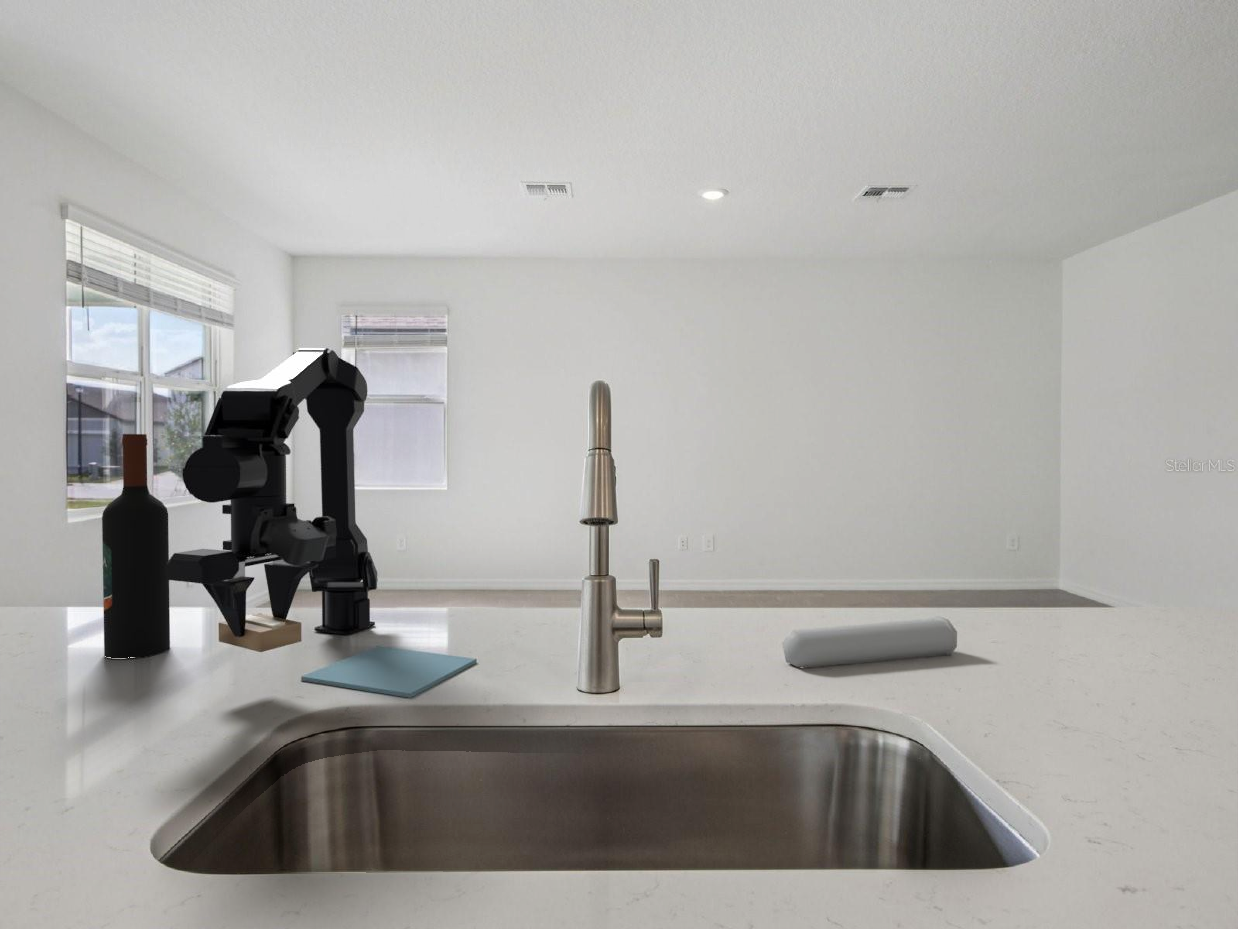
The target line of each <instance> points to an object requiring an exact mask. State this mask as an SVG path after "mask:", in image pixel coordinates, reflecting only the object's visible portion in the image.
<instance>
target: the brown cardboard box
mask: <svg viewBox="0 0 1238 929" xmlns="http://www.w3.org/2000/svg"><path fill="white" fill-rule="evenodd" d="M218 642H219V643H223V644H227V645H230V646H231V645H232V646H235V647H238V648H242V649H243V648H244V649H246V650H250V651H253V652H254V651H255V652H258V653H264V652H266V651H270V650H275V649H277V648H282V647H285V646H288V645H293V644H298V643H300V642H301V643H302V622H301V621H295V620H293V619H292V620H291V619H287V618H286V619H282V618H278V617H273V615H267V614H263V613H257V614H256V613H255V614H246V625H245V633H244V636H243V637H236V636H234V634H233V633H232V631H231V629H230V627H229V625H228V624H227V622H226V620H224V621H220V622H218Z"/></svg>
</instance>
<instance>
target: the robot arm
mask: <svg viewBox="0 0 1238 929" xmlns="http://www.w3.org/2000/svg"><path fill="white" fill-rule="evenodd" d="M367 398H368V384H367V380H366V378H365V377H364V375H363V374H362V372H361V370H360V369H359V367H357V366H356V365H354V364H352V363H350V362H348V361H346V360H344V359H343V358H340V357H339V356H338V354H337V353H336V351H334V349H329V348H328V347H299V348H298V349H295V350H293V352H292V355H291V356H290V357H289V358H288V359H286V360H285V361H284V362H282V363H281V364H280V365H279V366H277V367H276V368H275V369H273V370H272V371H271V372H269V373H268V374H266V375H265V376H264V377H262V378H260V379H255V380H245V381H241V382H238V383H235V384H231V385H229V386H227V387H225V389H224V390H223V391H222V392H221V395H220V397H219V398H218V400H217V403H216V405H215V407H214V410H213V412H212V414H211V417H210V420H209V421H208V424H207V427H206V430H205V431H204V434H203V436H202V447H200V448H198V449H196V450H195V451H193V453H192V454H190V455H189V456H188V458H187V459H186V461H185V465H184V466H183V468H182V480H183V484H184V486H185V488H186V489H187V491H188V492H189V493H190V495H192V496H193V497H194V498H195V499H197V500H199V501H201V502H206V503H209V504H210V503H220V502H226V501H230V503H228V504H222V509H221V511H222V512H221V513H222V514H223V515H230V539H227V540H222V550H221V549H209V548H200V549H192V550H186V551H180V552H174V553H173V554H172V555H171V556H170V557H169V561H168V563H167V580H169V581H175V582H183V583H184V582H185V583H193V584H194V583H195V584H202V586H203V587H204V588H205V590H206V591H207V593H208V594H209V596H210V597H211V599H213V602H214V603H215V605H216V606H217V607H218V609H219V612H220V613H221V614H222V616H223V618H224V621H226V622H227V624H228V625H229V627H230V629H231V631H232V633H233V634H234V636H236V637H243V636H244V633H245V625H246V615H247V590H248V589H249V587H250V586H251V585H252V583H253V582H254V580H255V577H254V576H253V577H252V576H246V567H251V566H256V565H261V564H262V565H263V566H264V573H265V579H266V585H267V590H268V596H269V604H270V608H271V609H270V610H271V613H272V616H273V617H278V618H282V619H287V617H288V614H289V612H290V609H291V606H292V603H293V600H294V598H295V595H296V593H297V589H298V588H299V585H300V583H301V581H302V579H303V578H305V576H306V575H307V574H309V579H310V580H309V582H310V586H311V592H312V593H317V592H321V625H317V626H315V627H314V632H323V633H328V634H338V635H345V636H347V635H351V634H353V633H357V632H360V631H362V630H365V629H368V628H371V627H373V626H375V625H376V622H375V621H372V620H371V617H370V616H371V615H370V614H371V610H370V609H371V601H370V600H371V599H370V598H369V592H370V591H374V590H375V591H376V590H377V589H378V581H379V580H378V570H377V569H376V568H377V567H376V566H375V562H374V561H373V557H372V555H371V553H370V552H369V548H368V538H367V537H366V535H365V534H364V533H363V531H362V530H361V528H360V527H359V526H358V524H357V523H356V522H357V520H356V488H355V487H356V486H355V484H356V483H355V482H356V481H355V451H354V450H355V445H354V443H355V442H354V441H355V440H354V429H355V427H356V425H357V423H358V422H359V420H360V419H361V418H362V415H363V414H364V412H365V401H366V400H367ZM304 400H305V401H306V412H307V414H308V415H309V416H310V418H311V420H313V422H314V423H315V425H316V426H317V428H318V429H319V430H318V431H319V448H320V453H319V454H320V456H319V457H320V479H321V480H320V487H321V488H320V490H321V516H316V517H315V518H313V520H310V519H308V520H307V519H306V520H302V519H300V518H298V515H297V514H298V513H297V508H296V506H295V503H293V502H287V456H289V455H290V454H291V452H292V451H291V449H290V447H289V446H288V445H287V444H286V443H285V441H286V440H287V439H289V436H290V434H291V432H292V430H293V429H294V427H295V425H296V423H297V422H298V421H299V419H300V416H299V414H300V408H299V405H300V404H301V402H302V403H303V401H304Z"/></svg>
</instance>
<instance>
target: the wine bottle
mask: <svg viewBox="0 0 1238 929" xmlns="http://www.w3.org/2000/svg"><path fill="white" fill-rule="evenodd" d="M147 435H148V434H147V433H144V434H143V433H141V434H140V433H122V438H121V446H122V472H123V473H122V477H123V478H122V479H123V480H122V482H123V485H122V486H123V487H122V489H121V490H122V492H121V494H120V495H119V496H117V497H116V498H115V499H113V500H112V501H111V502H109V503H108V504H107V506H106V507H105V508H104V510H103V512H102V516H101V525H102V526H101V529H102V530H101V532H102V535H101V536H102V537H101V538H102V539H101V540H102V590H103V592H102V594H103V596H102V597H103V603H102V604H103V646H104V647H103V650H104V651H103V653H104V656H106V657H111V658H128V657H129V658H130V657H143V658H146V657H145V656H148V657H151V655H153V656H156V655H160V654H162V653H165V652H167V651H169V650H170V649H171V629H170V628H171V626H170V624H171V623H170V622H171V621H170V620H171V619H170V613H171V612H170V580H167V563H168V561H169V559H170V556H169V555H170V551H169V548H170V547H169V542H170V541H169V512H168V509H167V507H166V506H165V504H164V503H163V502H162V501H161V500H160V499H158V498H157V497H156V496H154V495H152V494H151V493H150V491H149V487H148V449H147V448H148V447H147V446H148V437H147ZM106 657H105V658H106Z"/></svg>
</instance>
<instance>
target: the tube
mask: <svg viewBox="0 0 1238 929" xmlns="http://www.w3.org/2000/svg"><path fill="white" fill-rule="evenodd" d="M781 645H782V649H783V654H784V659H785V663H787V664H789V665H793V666H795V667H796V668H798V667H803V668H802V669H806V668H805V667H810V668H818V667H819V666H821V667H827V666H828V667H829V665H832V666H838V665H837V664H842V665H851V664H862V663H863V664H864V663H874V662H882V661H883V662H884V661H893V660H894V661H895V660H906V659H916V658H926V657H936V656H951V655H952V654H953V653H954V651H955V650H956V648H957V647H958V631H957V630H956V628H955V627H954V625H953V624H952V623H951V621H950V620H949V618H945V617H942V616H939V615H934V617H933V618H931V617H930V618H921V619H909V620H907V619H906V620H898V621H885V622H873V623H861V624H851V625H849V624H848V625H839V626H838V625H836V626H827V627H817V628H816V627H813V628H804V629H803V628H802V629H793V630H791V632H790V633H789V634H788V635H787V636H786V637H785V638H784V640H783V641H782V642H781ZM819 668H820V667H819Z"/></svg>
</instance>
